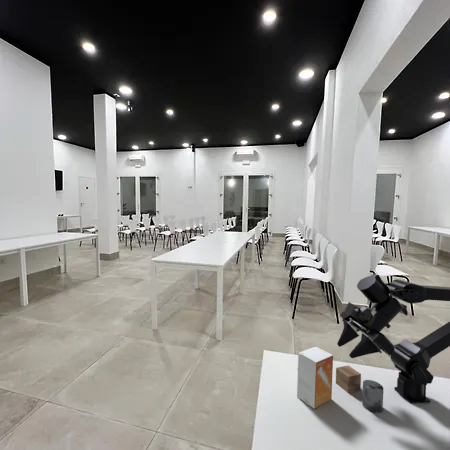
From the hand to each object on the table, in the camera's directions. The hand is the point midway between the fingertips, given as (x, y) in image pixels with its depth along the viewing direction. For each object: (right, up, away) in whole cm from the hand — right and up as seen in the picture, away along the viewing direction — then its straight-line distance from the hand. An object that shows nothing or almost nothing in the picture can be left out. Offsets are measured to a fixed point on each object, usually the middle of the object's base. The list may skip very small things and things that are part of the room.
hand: (344, 351), depth 76 cm
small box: (-9, -14, -1) cm, 16 cm away
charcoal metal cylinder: (+6, -14, -3) cm, 16 cm away
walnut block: (+4, -14, +5) cm, 15 cm away
